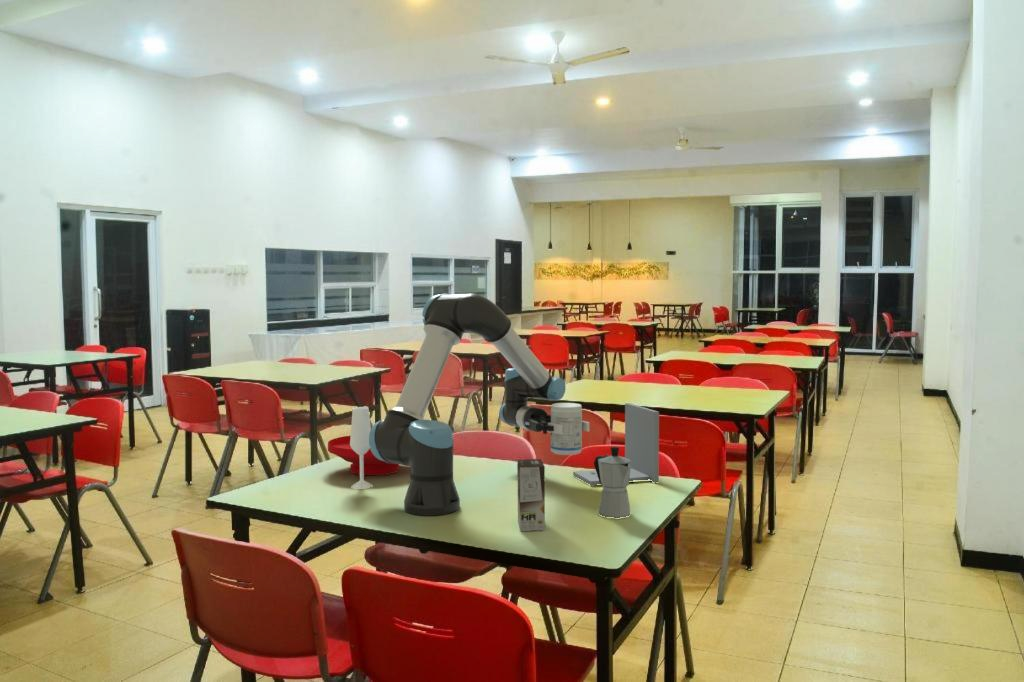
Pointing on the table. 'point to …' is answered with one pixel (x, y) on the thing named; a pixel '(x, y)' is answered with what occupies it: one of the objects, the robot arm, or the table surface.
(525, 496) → the coffee box
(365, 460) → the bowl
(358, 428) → the champagne flute
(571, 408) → the supplement tub
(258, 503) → the table surface
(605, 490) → the coffee maker
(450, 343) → the robot arm
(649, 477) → the socket stand
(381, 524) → the table surface
